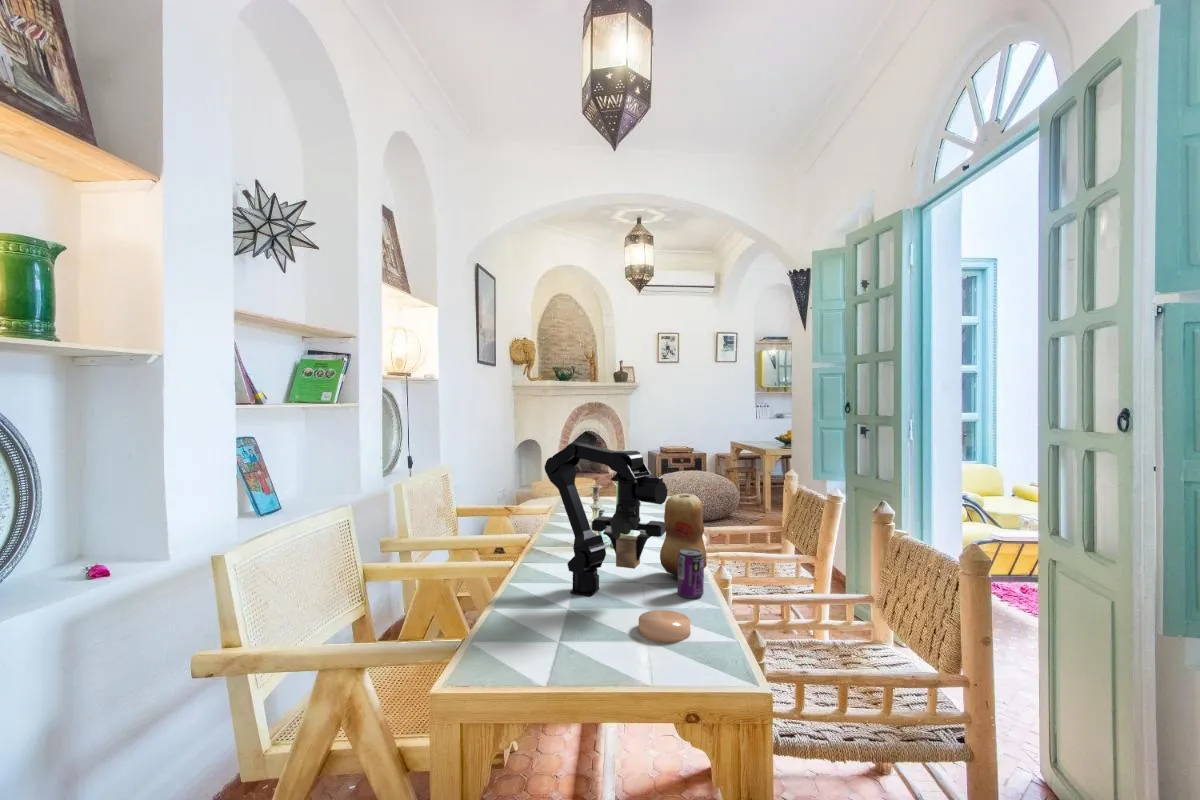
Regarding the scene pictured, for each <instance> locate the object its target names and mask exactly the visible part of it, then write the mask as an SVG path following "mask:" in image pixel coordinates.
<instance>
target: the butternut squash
mask: <svg viewBox="0 0 1200 800" xmlns="http://www.w3.org/2000/svg"><path fill="white" fill-rule="evenodd" d="M703 513H704V506H703V503H702V501H701V499H700V498H699V497H698V496H697V495H696V494H692V493H687V492H686V493H684V492H682V493H677V494H673V495H671V496H670V497H669V498H668V499H666V500H665V504H664V516H663V517H664V518H663V522H664V523H665V525H666V532H665V538H664V541H663V543H662V546H661V548H660V551H659V560H660V564H661V567H663V568H664V570H665V572H667V573H668V574H670V575H672V576H674V577H676V578H677V579H678V556H679V554H680V550H682V549H697V550H700V551H702V556H703V558H704V569H705V568H706V567H707V564H708V563H707V549H706V545H705V543H704V538H703V535H704V532H705V526H704V519H703V515H704V514H703Z"/></svg>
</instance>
